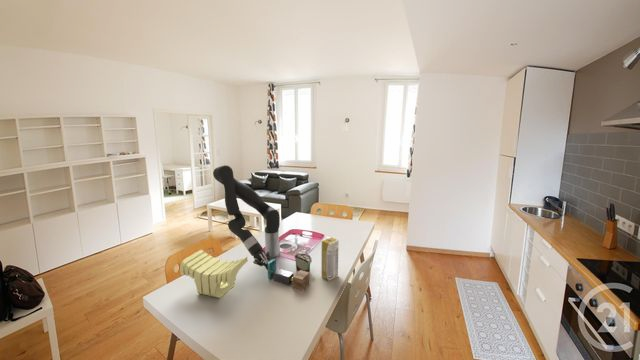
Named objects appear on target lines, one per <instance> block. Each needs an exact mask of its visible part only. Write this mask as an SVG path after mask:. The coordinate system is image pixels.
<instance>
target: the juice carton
mask: <svg viewBox="0 0 640 360" xmlns="http://www.w3.org/2000/svg"><path fill="white" fill-rule="evenodd" d="M320 260H321V262H320V263H321V267H320V268H321V271H320V273H321V278H323V279H325V280H327V281H328V282H330V281H331V280H333V279H335V278H337V277H339V240H338V239H336V238H334V237H330V236H327V237H325V239H322V240H321V259H320Z"/></svg>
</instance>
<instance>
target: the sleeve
mask: <svg viewBox="0 0 640 360" xmlns="http://www.w3.org/2000/svg"><path fill="white" fill-rule="evenodd" d="M294 275H295V272H292V271H289V270H287V269H282V268H277V269H276V271H275V272H274V277H273V281H274V282H276V283H278V284H281V285H282V284H283V285H286V286H290V285H292V284H293V282H290V279H289V278H290V277H291V276H294Z"/></svg>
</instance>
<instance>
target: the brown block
mask: <svg viewBox="0 0 640 360" xmlns="http://www.w3.org/2000/svg"><path fill="white" fill-rule="evenodd" d="M310 277H311V276H310V273H309V272H306V271H302V270H300V271H297V272H296V273H294V276H293V282H292V289H294V290H296V291H300V292H303V291H305V289H306V288H308V286H309V285H310V284H311V283H310V282H311V281H310Z"/></svg>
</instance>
